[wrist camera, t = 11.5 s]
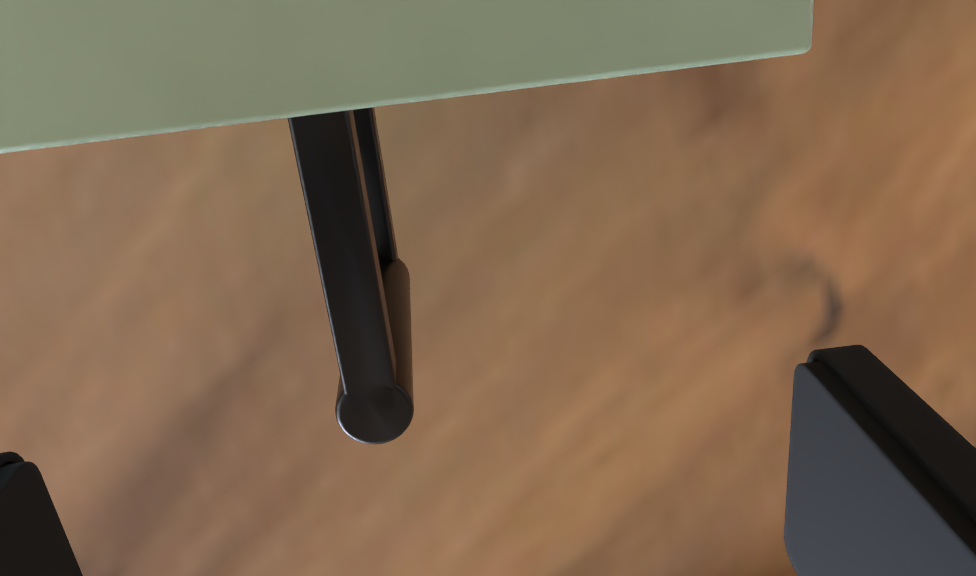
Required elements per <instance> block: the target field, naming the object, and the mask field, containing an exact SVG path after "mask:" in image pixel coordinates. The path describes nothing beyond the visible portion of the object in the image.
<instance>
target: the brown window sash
mask: <svg viewBox="0 0 976 576" xmlns="http://www.w3.org/2000/svg"><path fill="white" fill-rule="evenodd" d="M288 122H289V127H290V132H291V137H292V142H293V147H294V152H295V156H296V161H297V166H298V171H299V176H300V181H301V186H302V190H303V195H304V200H305V205H306V210H307V215H308V220H309V224H310V229H311V234H312V239H313V244H314V249H315V253H316V258H317V263H318V268H319V273H320V278H321V283H322V287H323V292H324V297H325V302H326V307H327V312H328V317H329V321H330V326H331V331H332V336H333V341H334V346H335V351H336V355H337V360H338V365H339V370H340V379H339V386H338V393H337V400H336V407H335V412H336V418H337V421H338V423H339V425H340V427H341V428H342V429H343V431H344V432H345V433H346V434H347V435H349V436H350V437H351V438H353V439H355V440H357V441H359V442H362V443H366V444H382V443H386V442H389V441H391V440H394V439H395V438H397V437H398V436H400V435H401V434H402V433H403V432H404V431H405V430H406V429H407V427H408V426H409V424H410V423H411V420H412V418H413V411H414V405H413V373H412V341H411V309H410V278H409V272H408V269H407V267H406V266H405V264H404V263H403V262H402V261H401V260H400V259H399V258H398V253H397V247H396V241H395V235H394V229H393V222H392V216H391V210H390V204H389V198H388V191H387V185H386V179H385V173H384V167H383V160H382V154H381V148H380V142H379V136H378V129H377V123H376V117H375V111H374V107H371V108H363V109H355V110H347V111H339V112H331V113H323V114H315V115H306V116H298V117H290V118H288Z"/></svg>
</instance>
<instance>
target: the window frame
mask: <svg viewBox="0 0 976 576" xmlns="http://www.w3.org/2000/svg"><path fill="white" fill-rule="evenodd" d="M813 8H814V0H0V154H1V153H9V152H17V151H25V150H33V149H41V148H49V147H57V146H65V145H73V144H82V143H90V142H98V141H106V140H114V139H122V138H130V137H138V136H146V135H154V134H162V133H170V132H178V131H186V130H194V129H202V128H210V127H218V126H226V125H234V124H242V123H250V122H258V121H266V120H274V119H282V118H290V117H298V116H306V115H315V114H323V113H331V112H339V111H347V110H355V109H363V108H371V107H379V106H387V105H395V104H403V103H411V102H419V101H427V100H435V99H443V98H451V97H459V96H467V95H475V94H483V93H491V92H499V91H507V90H515V89H523V88H531V87H539V86H548V85H556V84H564V83H572V82H580V81H588V80H596V79H604V78H612V77H620V76H628V75H636V74H644V73H652V72H660V71H668V70H676V69H684V68H692V67H700V66H708V65H716V64H724V63H732V62H740V61H748V60H756V59H764V58H772V57H781V56H789V55H797V54H803V53H805V52H807V51H809V50H810V47H811V43H812V25H813Z"/></svg>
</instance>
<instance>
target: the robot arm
mask: <svg viewBox="0 0 976 576" xmlns="http://www.w3.org/2000/svg"><path fill="white" fill-rule="evenodd" d="M784 540H785V546H786V550H787V554H788V557H789V559H790V562H791V564H792V566H793V567H794V569H795V571H796V573H797V574H798V576H976V448H975V447H974V446H972V445H971V444H970V443H969V442H968V441H967V440H966V439H965V438H964V437H963V436H962V435H960V434H959V433H958V432H957V431H956V430H955V429H954V428H953V427H952V426H951V425H950V424H949V423H947V422H946V421H945V420H944V419H943V418H942V417H941V416H940V415H939V414H938V413H937V412H935V411H934V410H933V409H932V408H931V407H930V406H929V405H928V404H927V403H926V402H925V401H924V400H922V399H921V398H920V397H919V396H918V395H917V394H916V393H915V392H914V391H913V390H912V389H910V388H909V387H908V386H907V385H906V384H905V383H904V382H903V381H902V380H901V379H900V378H898V377H897V376H896V375H895V374H894V373H893V372H892V371H891V370H890V369H889V368H888V367H887V366H885V365H884V364H883V363H882V362H881V361H880V360H879V359H878V358H877V357H876V356H875V355H873V354H872V353H871V352H870V351H869V350H868V349H867V348H865V347H864V346H862V345H851V346H843V347H835V348H827V349H819V350H814V351H812V352H811V353H810V354H809V357H808V359H807V363H802V364H799V365H797V367H796V369H795V373H794V383H793V399H792V414H791V430H790V446H789V462H788V478H787V494H786V510H785V526H784ZM0 576H83V575H82V573H81V570H80V568H79V565H78V563H77V561H76V558H75V556H74V553H73V551H72V548H71V546H70V544H69V541H68V539H67V536H66V534H65V531H64V529H63V526H62V524H61V522H60V519H59V517H58V514H57V512H56V509H55V507H54V505H53V502H52V500H51V497H50V495H49V492H48V490H47V488H46V485H45V483H44V480H43V478H42V475H41V473H40V471H39V469H38V467H37V466H36V465H35V464H34V463H32V462H25V461H24V460H23V458H22V457H21V456H19V455H18V454H17V453H14V452H4V453H0Z"/></svg>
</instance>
